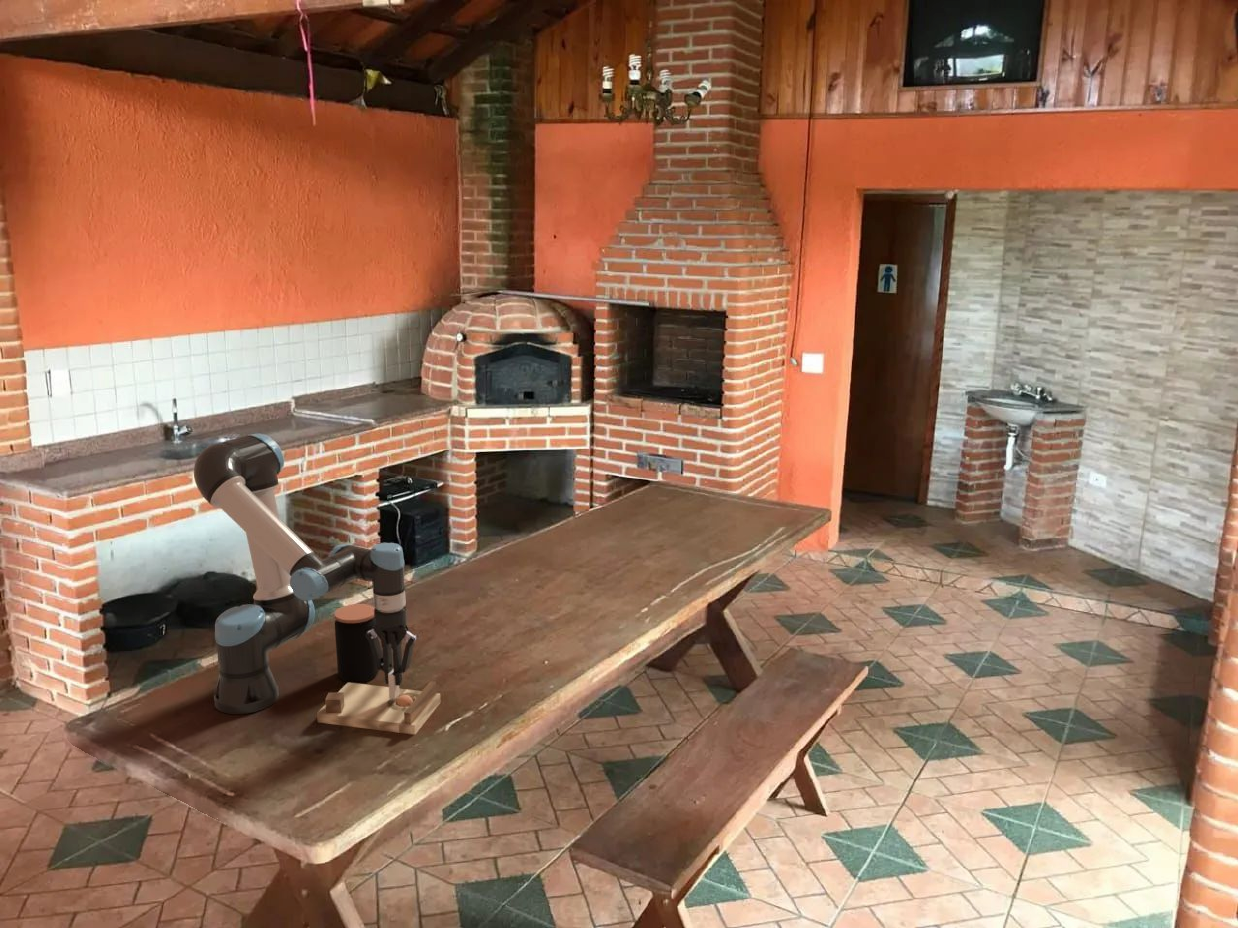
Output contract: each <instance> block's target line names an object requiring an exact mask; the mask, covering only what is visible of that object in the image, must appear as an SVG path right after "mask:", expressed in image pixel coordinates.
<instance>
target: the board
mask: <svg viewBox="0 0 1238 928" xmlns="http://www.w3.org/2000/svg"><path fill="white" fill-rule="evenodd" d="M437 691H438V687H437V682H436V681H433V680H432V681H431V680H430V681H429V682H428V684H427V685H426V686H425V687H424V688H423V689H422V690H414V689H408V688H407V689H406V688H400V687H399V692H400V694H399V695H398V696H397V697H396V698H395V699H391V698H389V686H381V685H373V684H365V683H349V682H346V684H345V685H343V686H342V688H340V689H339V691H338V692H344V708H343V710H342V713H326V705H325V704H324V705H323V706H322V707H321V708H320V709H319V711H317V712H316V718H317V719H316V720H317V723H321V724H329V725H334V726H335V725H337V726H343V727H353V728H361V729H367V730H368V729H369V730H376V731H382V732H383V731H384V732H390V733H392V732H393V733H397V734H398V733H400V734H405V735H406V734H408V735H414V736H415V735H416V734H417V733H418V732H419V731H420V729H421V728H422V727H423V725H424V724H425V723H426V721H427V720H428V719H429V718H430V717H431V715H432V714H433V713H434V711H435V710H436V709H437V708H438V706H439V705H440V704H441V703H442V702H441V693H439V692H437ZM402 695H408V696H410V697H411V698H412V700H413V703H412V704H411V705H410V706H408V707H400V706H398V705H397V700H398V698H399V697H400V696H402Z"/></svg>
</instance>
